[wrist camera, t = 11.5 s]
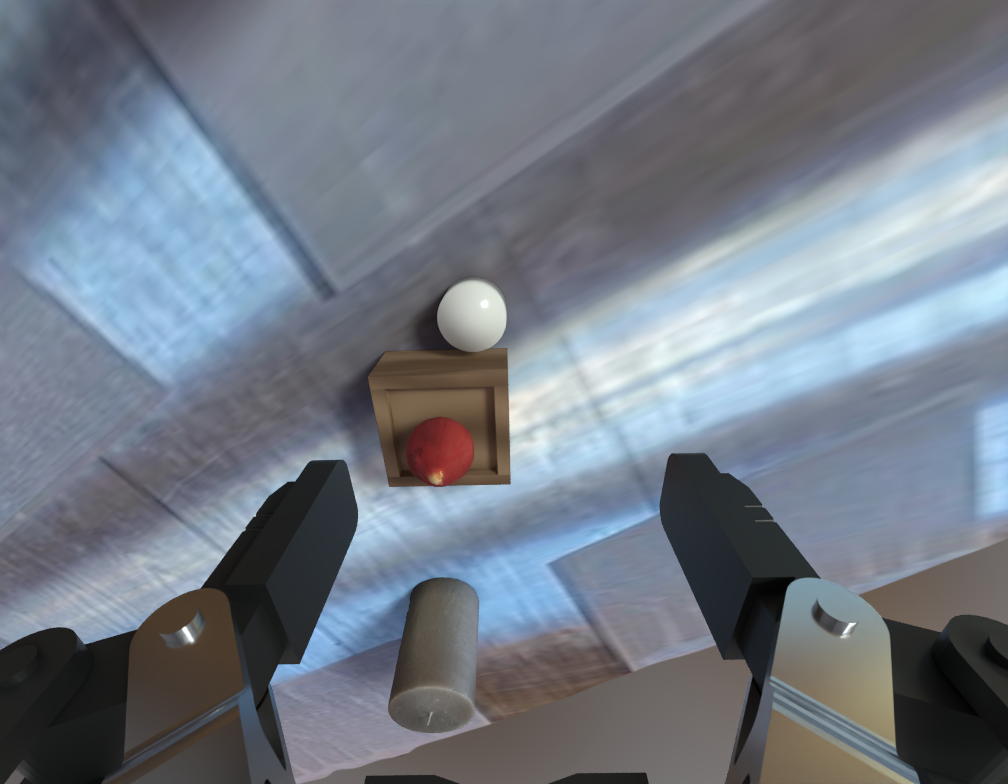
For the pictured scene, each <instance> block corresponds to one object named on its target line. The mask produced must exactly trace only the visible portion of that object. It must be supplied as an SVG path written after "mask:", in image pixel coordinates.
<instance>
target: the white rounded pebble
mask: <svg viewBox="0 0 1008 784" xmlns="http://www.w3.org/2000/svg"><path fill="white" fill-rule="evenodd" d="M437 322H438V326H439V330H440V332H441V334H442V335H443V337H444V338H445V339H446V341H447V342H449V343H450V344H451V345H452V346H454V347H456V348H457V349H460V350H463V351H467V352H479V351H483V350H486V349H488V348H490V347H492V346H493V345H494V344H496V343H497V342H498V341H499V339H500V338H501V336H502V335H503V333H504V330H505V327H506V303H505V299H504V296H503V294H502V292H501V291H500V289H499V288H498V287H497V286H496V285H495V284H494V283H492V282H491V281H489V280H487V279H484V278H481V277H466V278H462V279H460V280H458V281H456V282H455V283H453V284H452V285H451V286H450V287H449V289H448V290H447V292H446V293H445V295H444V297H443V299H442V301H441V303H440V305H439V308H438V313H437Z"/></svg>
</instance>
